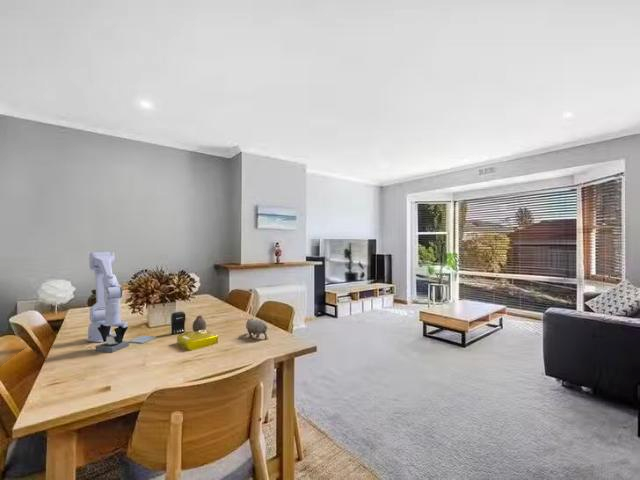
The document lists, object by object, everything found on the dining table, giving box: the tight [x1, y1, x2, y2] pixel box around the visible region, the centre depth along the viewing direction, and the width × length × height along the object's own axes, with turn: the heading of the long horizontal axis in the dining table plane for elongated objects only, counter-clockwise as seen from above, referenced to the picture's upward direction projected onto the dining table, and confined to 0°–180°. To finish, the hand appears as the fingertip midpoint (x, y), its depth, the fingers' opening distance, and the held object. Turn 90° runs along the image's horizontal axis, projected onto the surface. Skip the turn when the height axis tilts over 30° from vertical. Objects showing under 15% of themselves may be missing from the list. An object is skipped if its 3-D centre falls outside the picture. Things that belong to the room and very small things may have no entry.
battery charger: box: [170, 310, 187, 335], centre depth 165 cm, size 7×4×11 cm, turn 132°
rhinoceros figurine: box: [245, 317, 269, 340], centre depth 158 cm, size 8×14×15 cm
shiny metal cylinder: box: [105, 333, 119, 347], centre depth 141 cm, size 5×5×6 cm
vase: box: [192, 315, 207, 332], centre depth 166 cm, size 7×7×9 cm
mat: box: [128, 335, 158, 345], centre depth 153 cm, size 9×9×1 cm
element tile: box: [176, 329, 219, 351], centre depth 149 cm, size 15×15×5 cm
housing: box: [95, 340, 130, 353], centre depth 141 cm, size 9×9×2 cm
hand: (112, 341), depth 141 cm, fingers open, 7 cm apart
